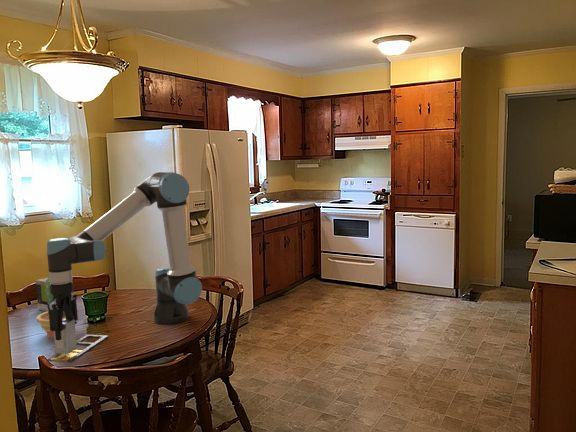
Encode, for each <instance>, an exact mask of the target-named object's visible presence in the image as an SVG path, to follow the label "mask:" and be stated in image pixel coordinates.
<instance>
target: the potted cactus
mask: <svg viewBox="0 0 576 432" xmlns="http://www.w3.org/2000/svg"><path fill="white" fill-rule="evenodd" d="M47 278H48V279H47V280H46V282H45V292H46V296H47V299H48V304H51V303H52V302H53V295H52V294H51V293H50V284H51V283H50V282H49V276H48V277H47ZM77 313H78V310H77ZM35 319H36V322H37V323H39V324H40V326H41V328H42V329H43V331H44V332H45V333H46V337H48V338H54V331H50V321H49V310H48V312H46V311H43V312H42V313H40V314H37V316H36V318H35ZM63 319H66V317H65V313H64V312H63Z"/></svg>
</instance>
